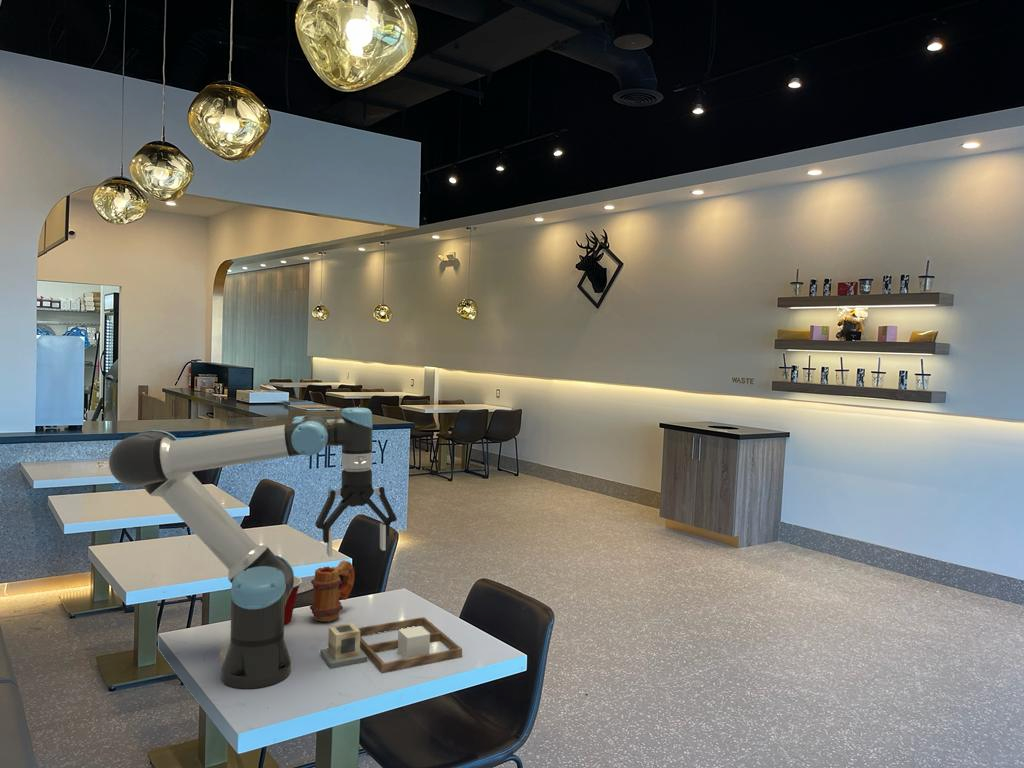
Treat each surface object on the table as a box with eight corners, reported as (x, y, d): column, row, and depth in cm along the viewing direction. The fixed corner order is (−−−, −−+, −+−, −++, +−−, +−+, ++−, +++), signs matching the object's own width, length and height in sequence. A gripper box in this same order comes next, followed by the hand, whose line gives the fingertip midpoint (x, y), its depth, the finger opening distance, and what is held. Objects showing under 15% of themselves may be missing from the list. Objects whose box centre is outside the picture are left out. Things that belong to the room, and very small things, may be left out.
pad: (330, 668, 169) (330, 663, 169) (320, 654, 177) (320, 649, 177) (367, 661, 174) (367, 656, 174) (355, 647, 182) (355, 643, 181)
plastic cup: (288, 631, 190) (289, 587, 190) (251, 627, 193) (252, 583, 192) (308, 617, 201) (309, 575, 201) (273, 613, 203) (274, 571, 203)
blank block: (406, 662, 174) (407, 638, 174) (397, 653, 180) (398, 629, 179) (429, 657, 177) (429, 634, 177) (419, 648, 183) (420, 625, 182)
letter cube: (335, 660, 171) (336, 635, 171) (328, 650, 176) (328, 626, 176) (359, 655, 174) (360, 631, 174) (351, 646, 179) (352, 622, 179)
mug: (323, 627, 194) (324, 573, 193) (302, 620, 198) (304, 567, 198) (361, 612, 206) (363, 561, 206) (341, 606, 211) (343, 556, 210)
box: (381, 673, 168) (382, 664, 168) (350, 636, 188) (350, 629, 188) (461, 656, 178) (462, 648, 178) (423, 624, 199) (424, 617, 199)
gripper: (309, 474, 171) (309, 561, 172) (409, 468, 182) (408, 550, 183) (303, 469, 178) (303, 553, 179) (400, 464, 189) (399, 543, 190)
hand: (356, 552), depth 181 cm, fingers open, 13 cm apart
